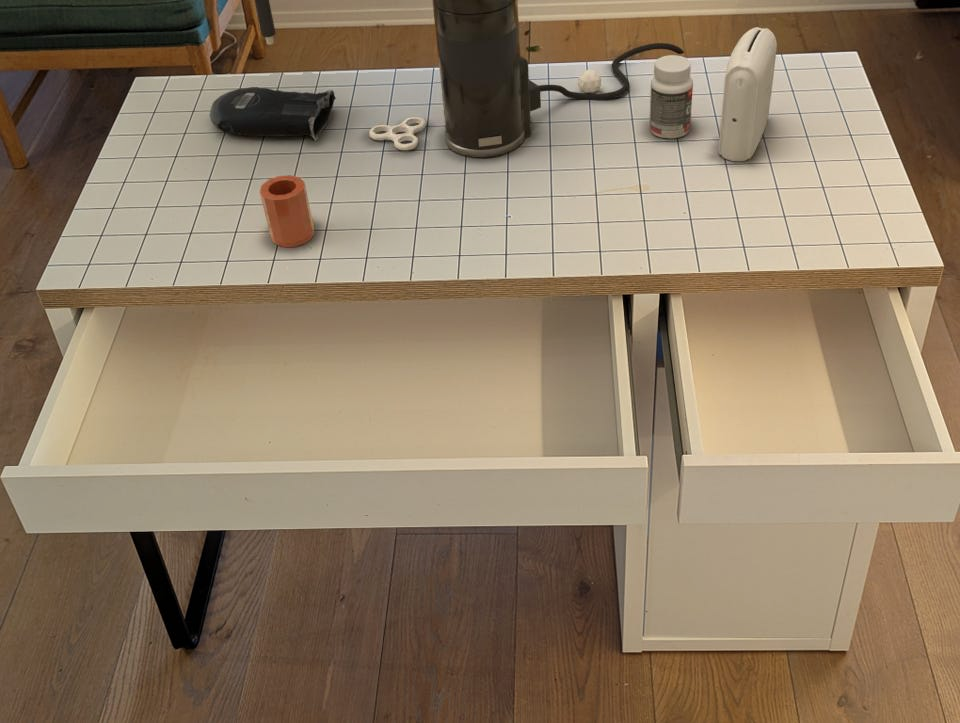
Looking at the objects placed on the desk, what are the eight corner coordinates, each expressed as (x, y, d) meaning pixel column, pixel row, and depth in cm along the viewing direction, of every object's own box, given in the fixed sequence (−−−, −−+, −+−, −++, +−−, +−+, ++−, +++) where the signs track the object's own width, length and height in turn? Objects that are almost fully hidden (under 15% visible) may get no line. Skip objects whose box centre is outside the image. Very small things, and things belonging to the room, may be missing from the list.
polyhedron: (601, 86, 135) (601, 64, 133) (600, 98, 133) (601, 76, 131) (578, 87, 135) (578, 65, 133) (577, 98, 133) (577, 76, 131)
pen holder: (303, 217, 118) (293, 170, 114) (321, 236, 115) (311, 189, 111) (264, 232, 116) (253, 185, 112) (282, 252, 113) (270, 204, 109)
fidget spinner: (422, 119, 132) (421, 113, 131) (438, 144, 127) (437, 138, 126) (367, 132, 130) (366, 126, 130) (381, 158, 126) (380, 152, 125)
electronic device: (340, 114, 137) (228, 95, 139) (337, 78, 133) (221, 59, 134) (317, 161, 131) (201, 141, 133) (314, 125, 127) (193, 104, 129)
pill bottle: (693, 137, 124) (698, 70, 119) (653, 141, 124) (656, 74, 119) (685, 117, 128) (689, 51, 122) (645, 121, 128) (648, 55, 122)
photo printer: (751, 165, 119) (763, 62, 111) (713, 159, 121) (722, 56, 112) (771, 120, 126) (784, 19, 118) (735, 115, 127) (745, 15, 119)
